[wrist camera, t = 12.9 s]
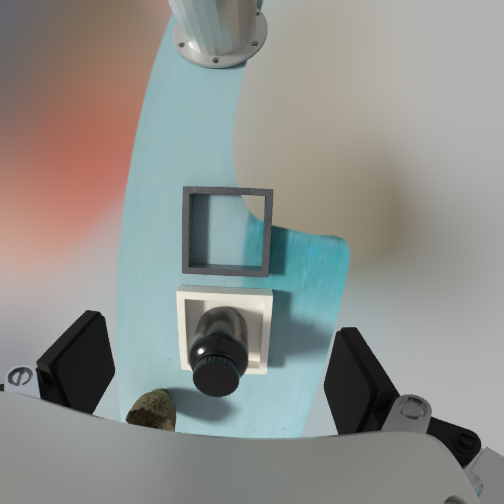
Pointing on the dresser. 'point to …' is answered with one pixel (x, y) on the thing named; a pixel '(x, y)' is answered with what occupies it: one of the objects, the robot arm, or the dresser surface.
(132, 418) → the olive rounded textured piece
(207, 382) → the supplement bottle
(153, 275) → the dresser surface
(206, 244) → the dresser surface
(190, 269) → the frame
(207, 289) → the white square tray
